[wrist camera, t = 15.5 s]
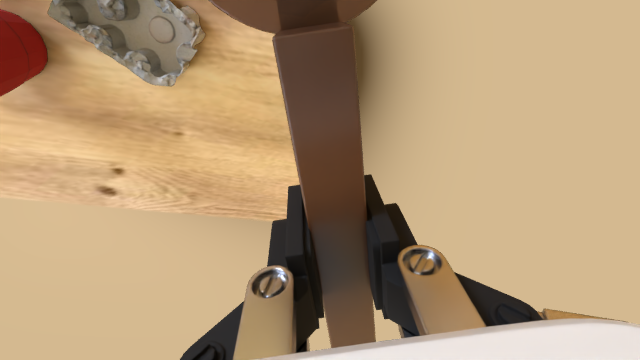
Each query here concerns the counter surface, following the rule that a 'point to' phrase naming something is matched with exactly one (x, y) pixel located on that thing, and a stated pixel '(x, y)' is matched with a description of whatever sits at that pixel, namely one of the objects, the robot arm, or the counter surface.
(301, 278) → the robot arm
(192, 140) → the counter surface
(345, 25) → the spoon
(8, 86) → the plastic cup
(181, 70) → the crystal geode chunk
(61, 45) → the counter surface
